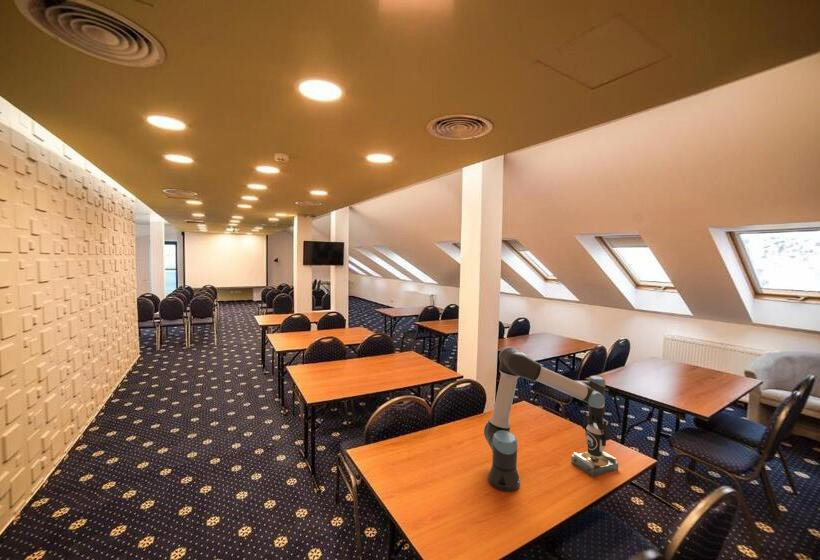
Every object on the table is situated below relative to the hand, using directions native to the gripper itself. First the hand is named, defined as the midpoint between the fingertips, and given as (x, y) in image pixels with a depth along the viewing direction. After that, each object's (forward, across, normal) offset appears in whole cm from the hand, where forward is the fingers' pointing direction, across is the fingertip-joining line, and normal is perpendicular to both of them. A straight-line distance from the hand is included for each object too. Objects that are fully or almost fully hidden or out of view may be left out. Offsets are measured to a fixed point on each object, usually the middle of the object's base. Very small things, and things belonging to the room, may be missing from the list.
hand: (595, 447), depth 185 cm
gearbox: (+11, 0, 0) cm, 11 cm away
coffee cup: (+4, 0, 0) cm, 4 cm away
